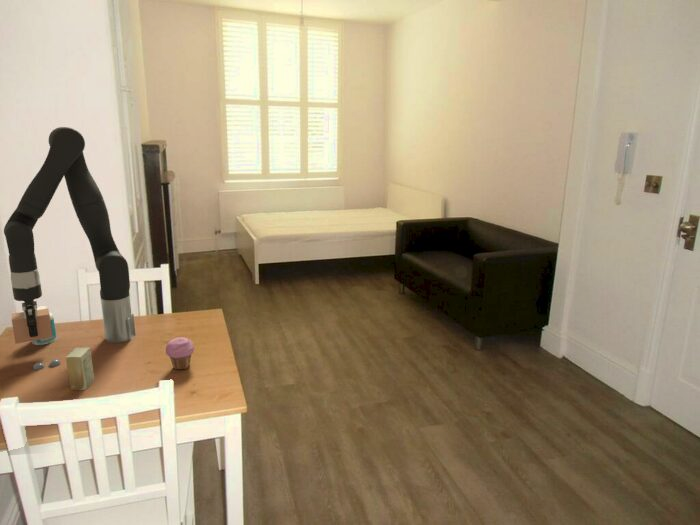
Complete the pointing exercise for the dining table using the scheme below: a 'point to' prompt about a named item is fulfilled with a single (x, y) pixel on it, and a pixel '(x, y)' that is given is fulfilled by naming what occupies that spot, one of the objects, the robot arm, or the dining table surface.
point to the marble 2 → (54, 363)
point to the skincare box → (80, 368)
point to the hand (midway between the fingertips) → (33, 332)
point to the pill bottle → (49, 340)
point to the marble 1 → (38, 366)
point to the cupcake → (180, 352)
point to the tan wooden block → (23, 331)
